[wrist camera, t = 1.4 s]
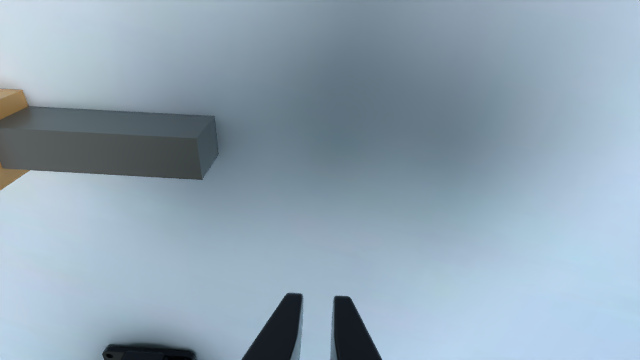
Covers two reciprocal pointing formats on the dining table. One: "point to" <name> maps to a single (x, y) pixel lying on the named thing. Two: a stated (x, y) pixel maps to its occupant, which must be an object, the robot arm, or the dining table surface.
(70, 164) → the tan block with bar
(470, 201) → the dining table surface
